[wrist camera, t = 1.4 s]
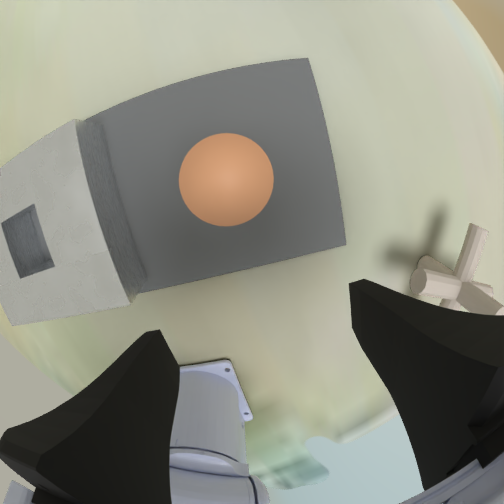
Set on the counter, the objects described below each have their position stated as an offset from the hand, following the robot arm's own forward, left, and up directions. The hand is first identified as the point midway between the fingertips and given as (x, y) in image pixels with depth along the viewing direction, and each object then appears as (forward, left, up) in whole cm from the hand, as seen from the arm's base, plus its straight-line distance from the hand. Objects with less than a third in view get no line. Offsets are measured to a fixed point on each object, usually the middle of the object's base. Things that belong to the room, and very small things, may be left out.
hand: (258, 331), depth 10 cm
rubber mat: (+5, +8, -10) cm, 14 cm away
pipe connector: (-6, -15, -11) cm, 19 cm away
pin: (+5, 0, -10) cm, 11 cm away
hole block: (+5, +15, -10) cm, 19 cm away
